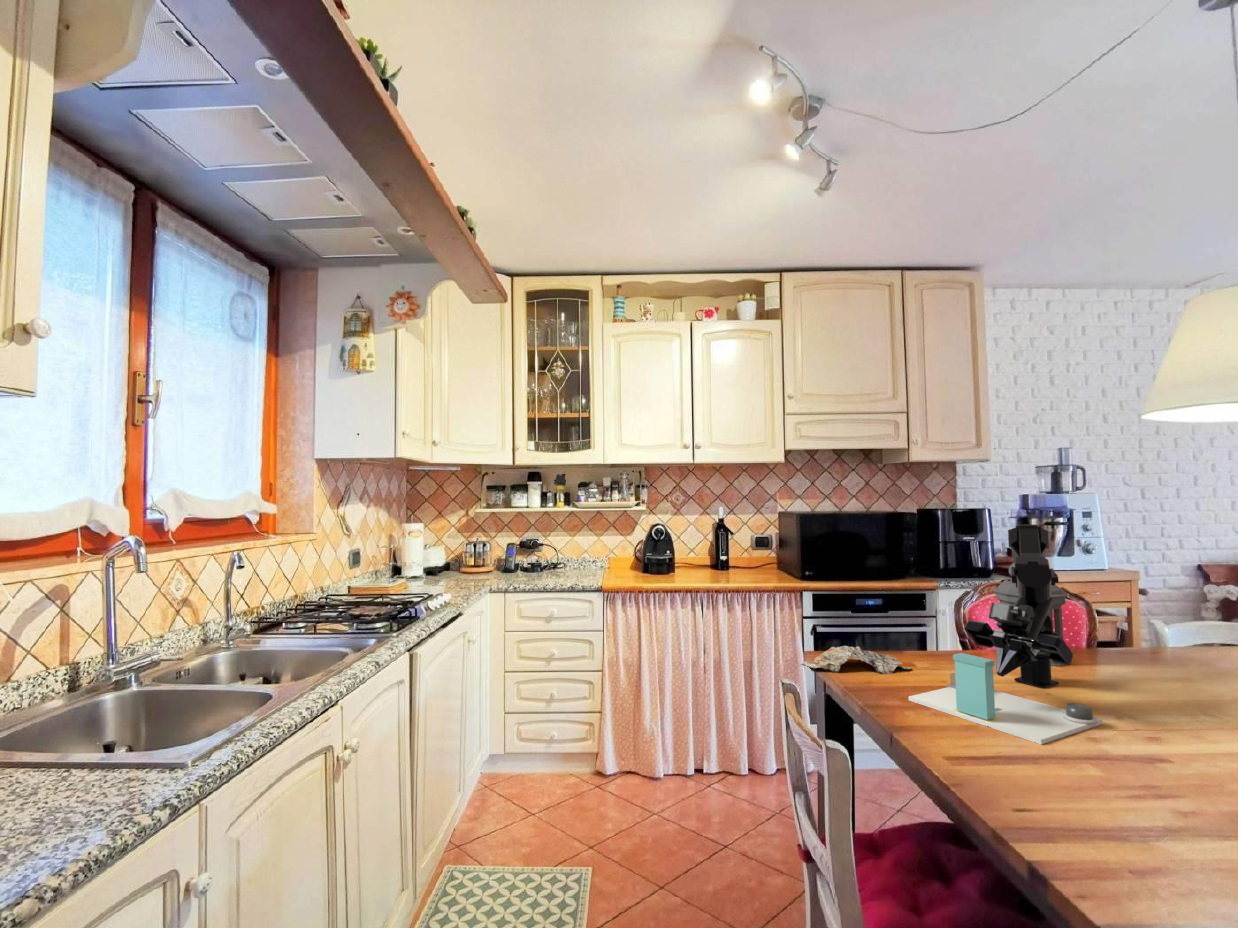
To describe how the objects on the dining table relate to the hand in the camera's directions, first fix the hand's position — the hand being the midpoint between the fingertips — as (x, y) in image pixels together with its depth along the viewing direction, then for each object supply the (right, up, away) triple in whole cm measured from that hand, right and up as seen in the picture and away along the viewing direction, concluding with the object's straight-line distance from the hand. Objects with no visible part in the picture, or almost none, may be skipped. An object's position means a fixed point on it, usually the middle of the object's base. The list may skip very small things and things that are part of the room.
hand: (999, 674), depth 120 cm
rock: (-15, -10, +33) cm, 38 cm away
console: (0, -7, 0) cm, 7 cm away
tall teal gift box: (-7, -6, -4) cm, 10 cm away
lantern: (+34, -9, +39) cm, 53 cm away
